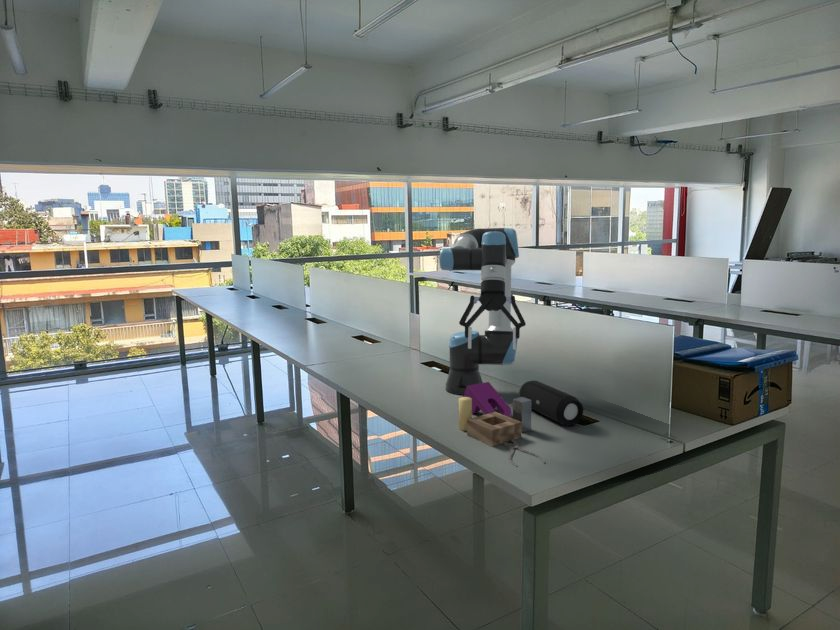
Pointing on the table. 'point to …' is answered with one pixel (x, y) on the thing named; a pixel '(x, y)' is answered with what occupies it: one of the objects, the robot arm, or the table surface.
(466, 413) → the round peg
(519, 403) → the square peg
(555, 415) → the portable speaker
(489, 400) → the mounting bracket
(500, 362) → the robot arm
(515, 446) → the pliers
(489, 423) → the socket block
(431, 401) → the table surface
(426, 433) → the table surface
